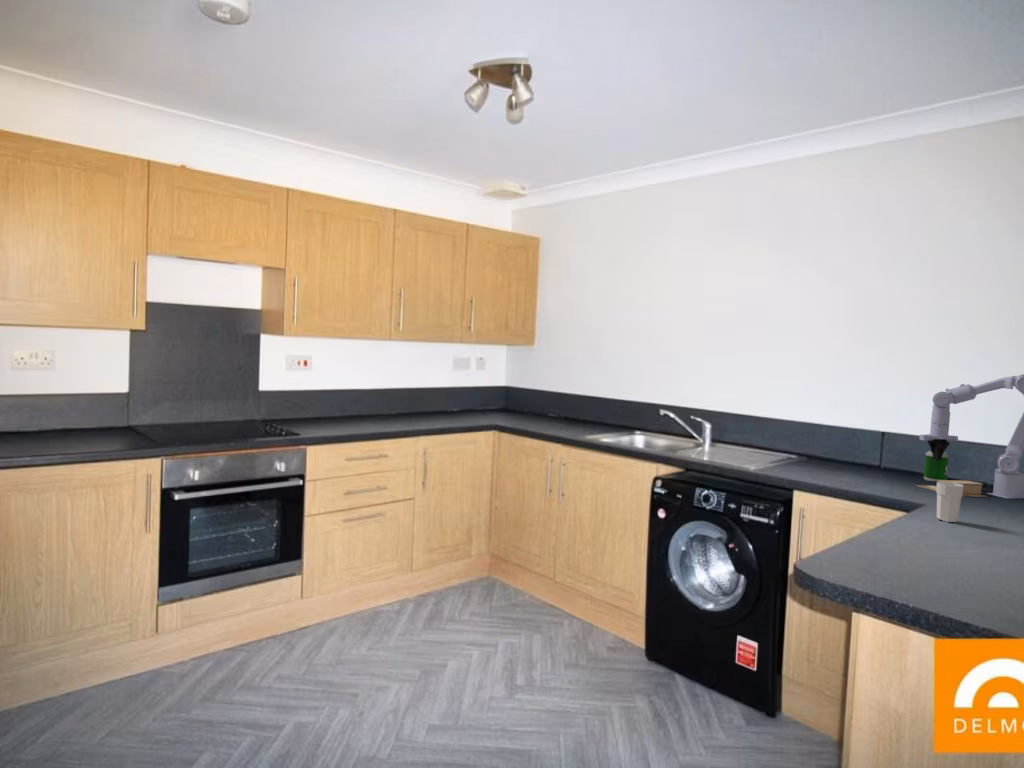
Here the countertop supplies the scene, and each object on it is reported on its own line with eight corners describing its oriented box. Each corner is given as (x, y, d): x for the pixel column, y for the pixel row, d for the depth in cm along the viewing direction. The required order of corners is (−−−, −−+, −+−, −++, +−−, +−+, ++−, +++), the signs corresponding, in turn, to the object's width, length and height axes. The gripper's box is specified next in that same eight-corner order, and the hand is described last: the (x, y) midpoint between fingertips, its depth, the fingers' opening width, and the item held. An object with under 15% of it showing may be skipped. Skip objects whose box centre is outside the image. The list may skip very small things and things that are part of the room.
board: (948, 487, 246) (948, 485, 246) (988, 498, 229) (988, 496, 229) (915, 487, 244) (915, 485, 244) (953, 497, 227) (953, 496, 227)
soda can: (942, 484, 251) (945, 453, 250) (920, 481, 256) (923, 450, 256) (948, 482, 256) (951, 452, 255) (927, 479, 261) (929, 449, 261)
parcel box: (966, 491, 237) (967, 481, 237) (980, 495, 231) (981, 485, 231) (937, 490, 235) (937, 481, 235) (950, 494, 229) (951, 484, 229)
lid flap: (967, 481, 237) (968, 480, 237) (982, 484, 230) (982, 483, 230) (937, 481, 235) (937, 479, 235) (951, 484, 228) (951, 483, 228)
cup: (948, 524, 188) (951, 486, 188) (928, 518, 195) (931, 481, 194) (966, 523, 190) (969, 486, 190) (945, 517, 197) (948, 481, 196)
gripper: (948, 423, 249) (945, 458, 249) (914, 421, 246) (911, 457, 247) (964, 425, 242) (960, 461, 242) (929, 424, 239) (926, 460, 240)
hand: (936, 459), depth 244 cm, fingers closed
